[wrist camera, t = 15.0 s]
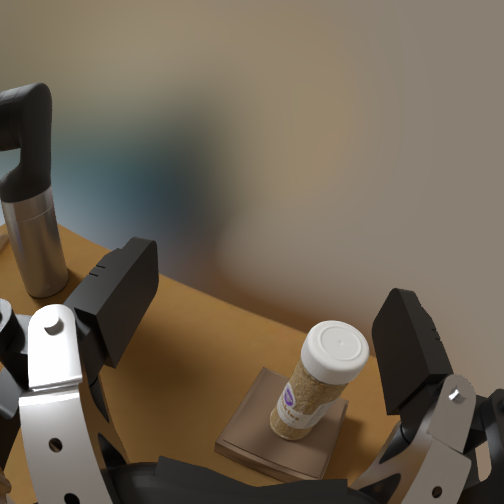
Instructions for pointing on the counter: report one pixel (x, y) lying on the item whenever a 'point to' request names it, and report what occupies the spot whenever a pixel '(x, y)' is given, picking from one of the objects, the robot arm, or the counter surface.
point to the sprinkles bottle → (319, 377)
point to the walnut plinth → (273, 446)
